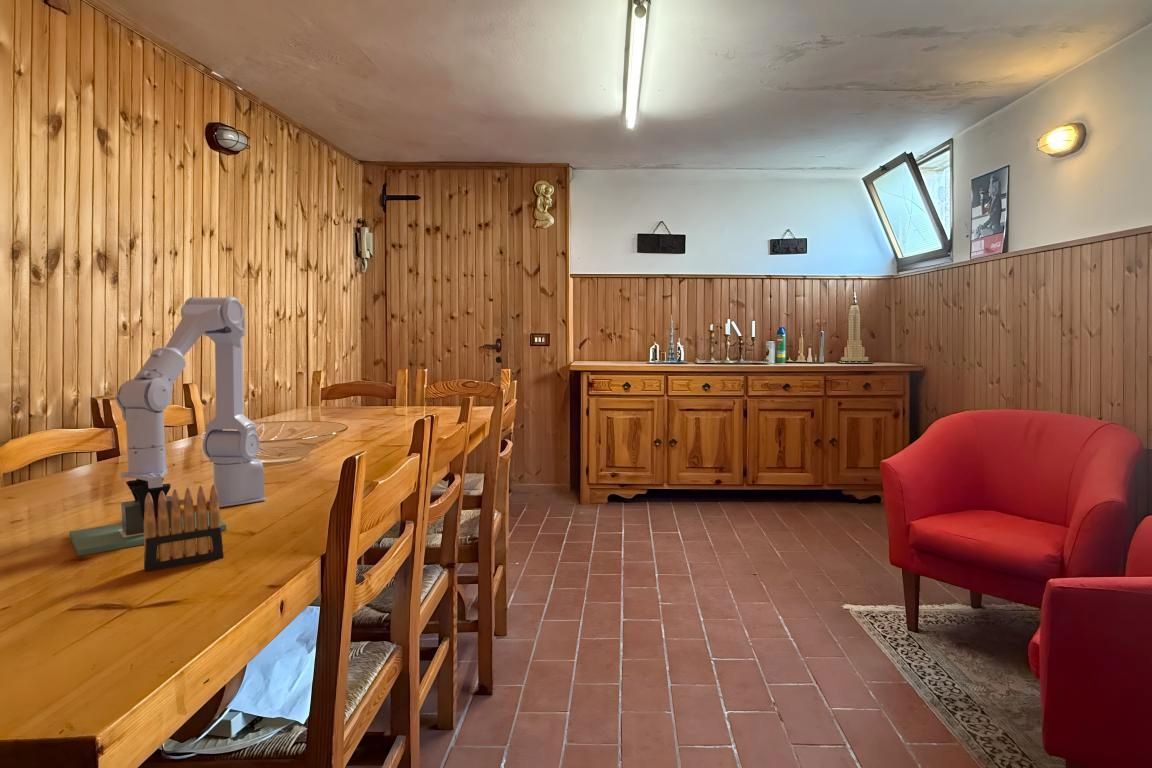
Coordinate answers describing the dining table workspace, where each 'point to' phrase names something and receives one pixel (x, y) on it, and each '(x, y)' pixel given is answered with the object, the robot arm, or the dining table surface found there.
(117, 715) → the dining table surface
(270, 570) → the dining table surface
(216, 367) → the robot arm
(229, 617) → the dining table surface
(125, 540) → the board
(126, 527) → the block
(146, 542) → the ammunition clip
